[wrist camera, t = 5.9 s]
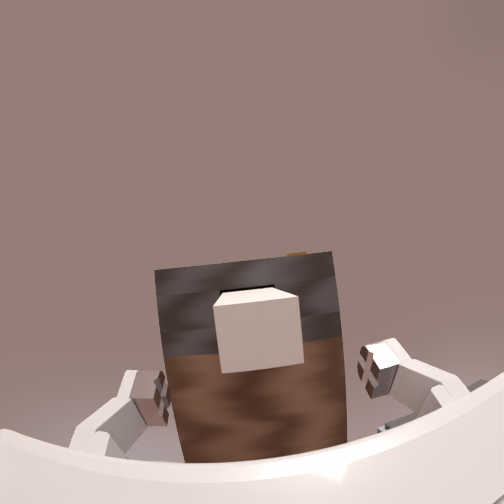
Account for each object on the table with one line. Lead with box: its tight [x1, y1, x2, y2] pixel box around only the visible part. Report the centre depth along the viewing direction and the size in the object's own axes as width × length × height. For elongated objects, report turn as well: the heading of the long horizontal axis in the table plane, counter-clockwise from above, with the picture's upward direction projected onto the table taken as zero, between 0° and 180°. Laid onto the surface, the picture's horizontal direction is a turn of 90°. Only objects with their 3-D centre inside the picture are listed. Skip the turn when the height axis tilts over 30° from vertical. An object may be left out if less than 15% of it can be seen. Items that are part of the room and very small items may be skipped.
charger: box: [213, 287, 304, 373], centre depth 20 cm, size 4×16×3 cm, turn 3°
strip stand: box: [155, 252, 347, 463], centre depth 24 cm, size 14×10×31 cm
